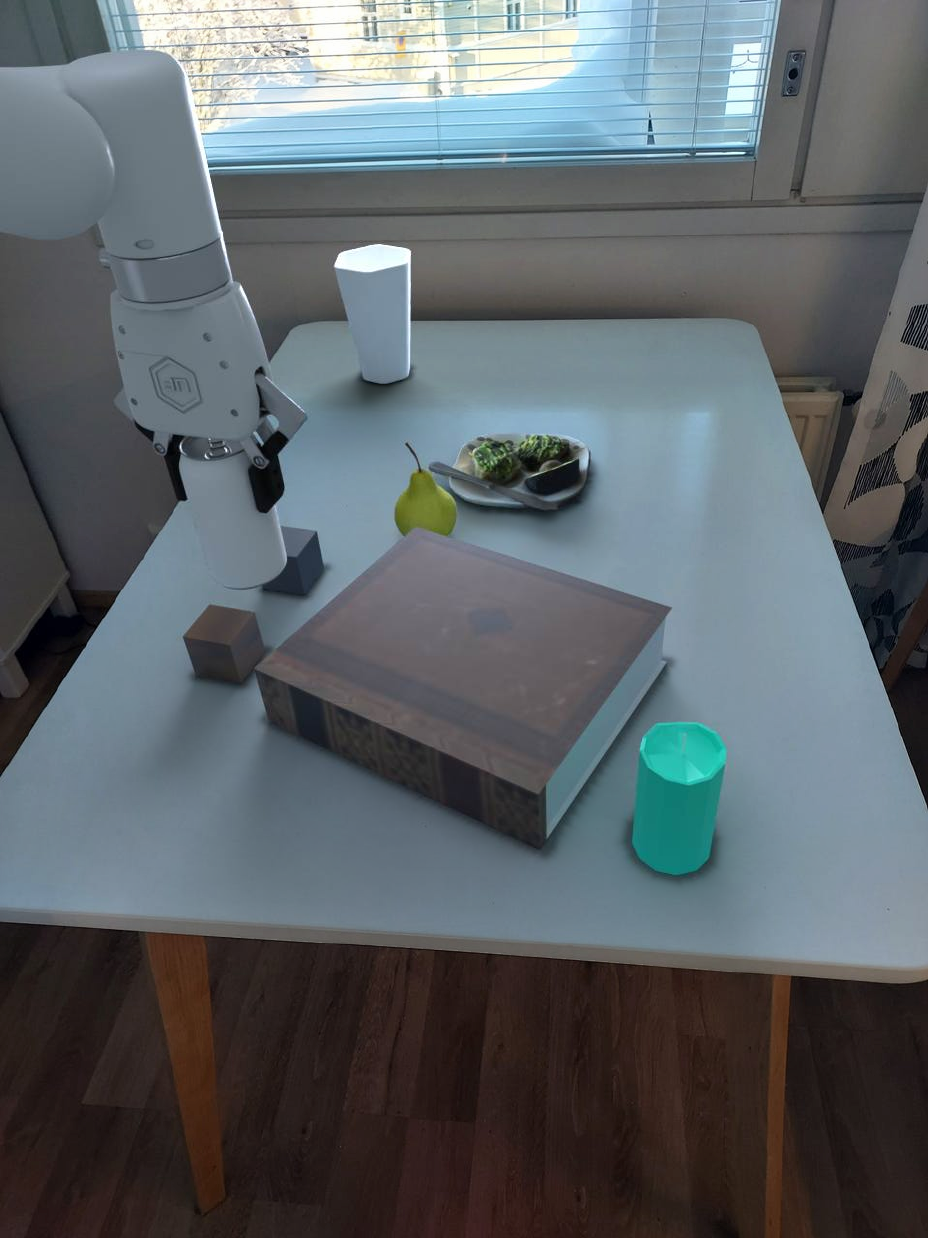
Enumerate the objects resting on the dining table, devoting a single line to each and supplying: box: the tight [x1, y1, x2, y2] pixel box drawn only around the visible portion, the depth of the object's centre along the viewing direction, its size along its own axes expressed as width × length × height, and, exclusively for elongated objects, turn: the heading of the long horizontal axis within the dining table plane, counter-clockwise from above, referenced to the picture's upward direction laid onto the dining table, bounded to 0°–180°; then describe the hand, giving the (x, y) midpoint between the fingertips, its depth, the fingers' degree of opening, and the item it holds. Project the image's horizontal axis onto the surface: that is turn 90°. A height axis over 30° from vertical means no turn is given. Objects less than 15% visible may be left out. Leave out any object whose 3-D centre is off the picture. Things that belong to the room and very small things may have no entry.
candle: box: [631, 721, 728, 876], centre depth 67 cm, size 6×6×12 cm
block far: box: [261, 525, 325, 596], centre depth 99 cm, size 5×5×5 cm
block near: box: [182, 603, 266, 685], centre depth 89 cm, size 5×5×5 cm
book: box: [253, 527, 673, 850], centre depth 83 cm, size 24×28×6 cm
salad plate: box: [427, 432, 592, 512], centre depth 112 cm, size 19×18×5 cm
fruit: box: [393, 441, 458, 537], centre depth 101 cm, size 7×7×12 cm
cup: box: [333, 244, 412, 385], centre depth 134 cm, size 11×10×17 cm
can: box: [179, 436, 287, 591], centre depth 74 cm, size 6×6×12 cm
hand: (230, 496), depth 73 cm, fingers closed on can, 6 cm apart
